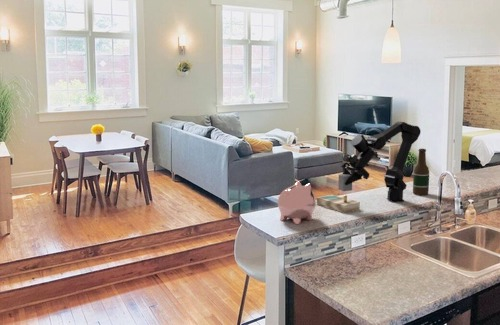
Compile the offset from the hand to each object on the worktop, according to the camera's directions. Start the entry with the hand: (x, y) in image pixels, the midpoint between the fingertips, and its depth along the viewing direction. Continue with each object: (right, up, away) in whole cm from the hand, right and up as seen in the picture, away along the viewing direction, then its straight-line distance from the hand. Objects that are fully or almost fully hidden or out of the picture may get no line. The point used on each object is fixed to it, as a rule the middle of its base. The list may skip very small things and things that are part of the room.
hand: (342, 183), depth 223 cm
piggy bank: (-22, -15, -11) cm, 29 cm away
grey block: (+1, -3, +1) cm, 3 cm away
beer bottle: (+47, -7, +28) cm, 55 cm away
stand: (-1, -11, +7) cm, 13 cm away
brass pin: (+2, -9, +2) cm, 9 cm away
